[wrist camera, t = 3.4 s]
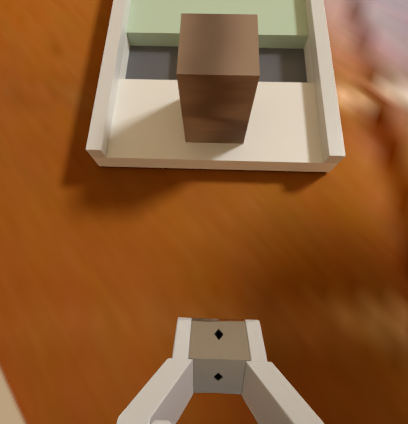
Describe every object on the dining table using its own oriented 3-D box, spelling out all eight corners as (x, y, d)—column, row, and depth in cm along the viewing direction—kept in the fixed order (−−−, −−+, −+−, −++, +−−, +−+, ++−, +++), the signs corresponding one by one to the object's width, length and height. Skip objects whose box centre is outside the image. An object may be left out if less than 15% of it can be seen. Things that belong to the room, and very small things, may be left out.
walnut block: (242, 96, 30) (257, 14, 21) (243, 143, 28) (259, 75, 19) (188, 94, 30) (181, 13, 21) (185, 142, 28) (176, 74, 20)
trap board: (307, -11, 38) (317, -41, 34) (329, 172, 29) (345, 155, 26) (128, -14, 38) (121, -44, 35) (99, 166, 30) (85, 149, 26)
